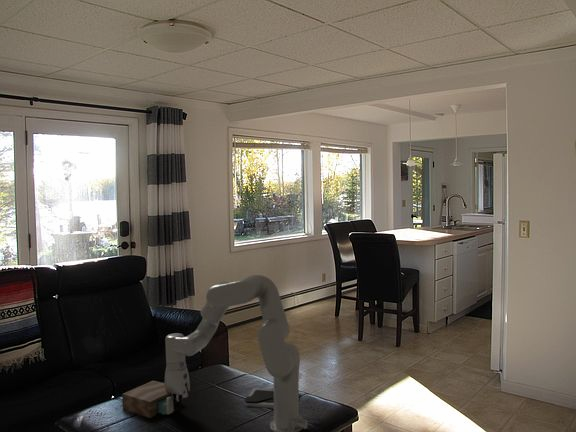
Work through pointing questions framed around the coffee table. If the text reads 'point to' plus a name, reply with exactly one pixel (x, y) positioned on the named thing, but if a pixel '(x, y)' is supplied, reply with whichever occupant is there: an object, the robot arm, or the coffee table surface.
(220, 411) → the coffee table surface
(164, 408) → the teal shell
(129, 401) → the walnut rack
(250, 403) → the picture frame
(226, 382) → the coffee table surface
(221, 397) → the coffee table surface
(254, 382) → the coffee table surface
